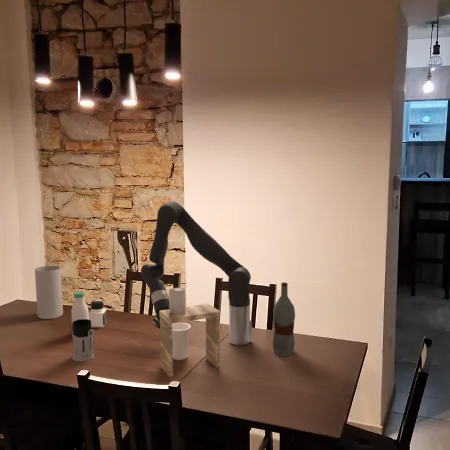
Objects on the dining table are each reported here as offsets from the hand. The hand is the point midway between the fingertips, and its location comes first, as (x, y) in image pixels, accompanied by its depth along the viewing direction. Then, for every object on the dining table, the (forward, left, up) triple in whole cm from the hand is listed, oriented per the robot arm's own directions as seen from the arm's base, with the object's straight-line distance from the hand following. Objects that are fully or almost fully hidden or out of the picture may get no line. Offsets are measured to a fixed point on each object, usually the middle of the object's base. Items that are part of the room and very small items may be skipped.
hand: (171, 337), depth 219 cm
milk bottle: (+32, -34, -5) cm, 47 cm away
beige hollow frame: (0, +22, -5) cm, 22 cm away
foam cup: (0, +10, -5) cm, 11 cm away
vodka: (-41, +25, -5) cm, 48 cm away
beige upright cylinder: (+5, +22, +18) cm, 29 cm away
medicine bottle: (+22, -44, -5) cm, 49 cm away
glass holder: (+35, -5, -5) cm, 36 cm away
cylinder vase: (+41, -69, -5) cm, 80 cm away
